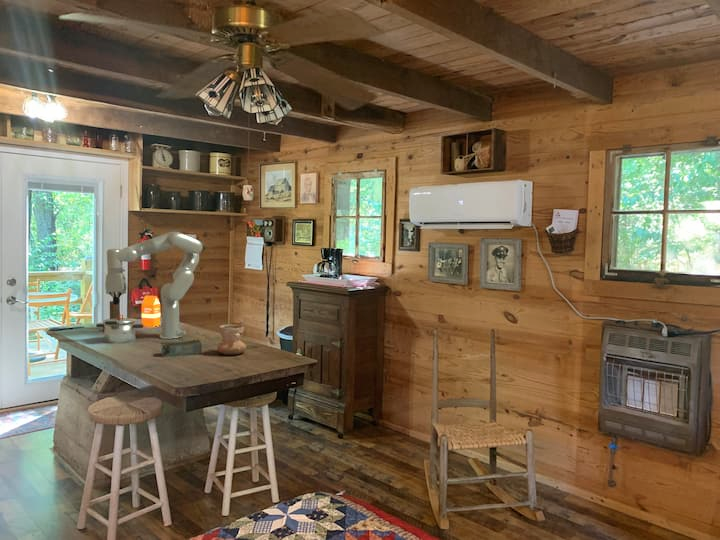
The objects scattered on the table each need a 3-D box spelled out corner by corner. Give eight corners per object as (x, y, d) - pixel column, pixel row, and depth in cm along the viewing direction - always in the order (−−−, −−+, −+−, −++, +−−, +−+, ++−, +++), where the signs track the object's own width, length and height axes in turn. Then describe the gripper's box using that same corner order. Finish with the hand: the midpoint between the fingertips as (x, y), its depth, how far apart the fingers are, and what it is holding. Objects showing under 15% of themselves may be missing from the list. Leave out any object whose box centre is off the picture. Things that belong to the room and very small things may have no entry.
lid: (141, 320, 319) (141, 314, 319) (126, 324, 300) (126, 318, 300) (112, 319, 320) (112, 313, 320) (95, 324, 300) (95, 317, 300)
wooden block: (105, 331, 338) (105, 302, 337) (102, 330, 341) (102, 301, 340) (120, 329, 345) (119, 301, 344) (116, 328, 348) (116, 300, 347)
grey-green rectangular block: (161, 354, 281) (160, 341, 280) (199, 351, 289) (199, 338, 288) (162, 357, 273) (162, 344, 273) (202, 354, 281) (202, 341, 281)
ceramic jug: (251, 354, 281) (252, 327, 280) (224, 358, 272) (224, 329, 272) (237, 349, 295) (237, 322, 295) (211, 352, 287) (211, 324, 286)
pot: (149, 338, 320) (148, 321, 320) (136, 343, 303) (136, 325, 303) (105, 337, 321) (105, 320, 320) (90, 343, 304) (90, 325, 303)
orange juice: (153, 327, 355) (153, 296, 353) (141, 326, 357) (141, 296, 356) (160, 325, 362) (160, 295, 361) (148, 324, 364) (148, 294, 363)
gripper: (131, 270, 308) (132, 303, 309) (105, 270, 308) (106, 303, 310) (125, 271, 300) (126, 305, 302) (98, 272, 301) (99, 305, 302)
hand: (116, 304), depth 306 cm, fingers closed
